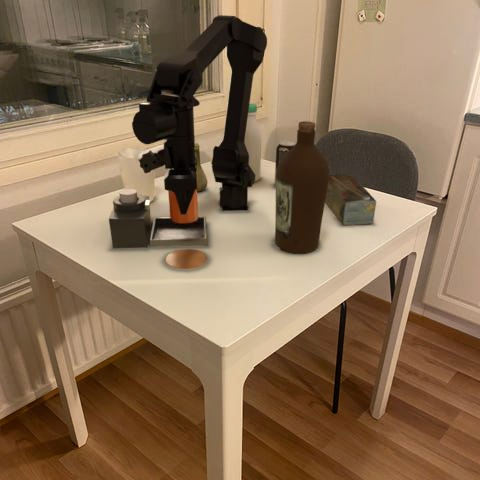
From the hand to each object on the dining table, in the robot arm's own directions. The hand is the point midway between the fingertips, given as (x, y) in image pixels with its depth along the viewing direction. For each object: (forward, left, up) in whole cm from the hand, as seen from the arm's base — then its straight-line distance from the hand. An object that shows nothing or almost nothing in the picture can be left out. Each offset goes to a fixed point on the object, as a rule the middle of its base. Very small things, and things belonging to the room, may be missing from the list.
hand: (183, 208), depth 104 cm
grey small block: (+8, 0, 0) cm, 8 cm away
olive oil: (-24, +6, -6) cm, 25 cm away
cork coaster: (-1, +12, -6) cm, 14 cm away
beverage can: (-27, -31, -6) cm, 42 cm away
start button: (+12, 0, +2) cm, 12 cm away
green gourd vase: (-3, -29, -6) cm, 30 cm away
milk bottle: (-17, -38, -6) cm, 43 cm away
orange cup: (0, 0, -2) cm, 2 cm away
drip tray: (+1, 0, -6) cm, 6 cm away
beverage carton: (-40, -13, -6) cm, 42 cm away
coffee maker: (+11, 0, -6) cm, 13 cm away
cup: (+12, -22, -6) cm, 26 cm away
